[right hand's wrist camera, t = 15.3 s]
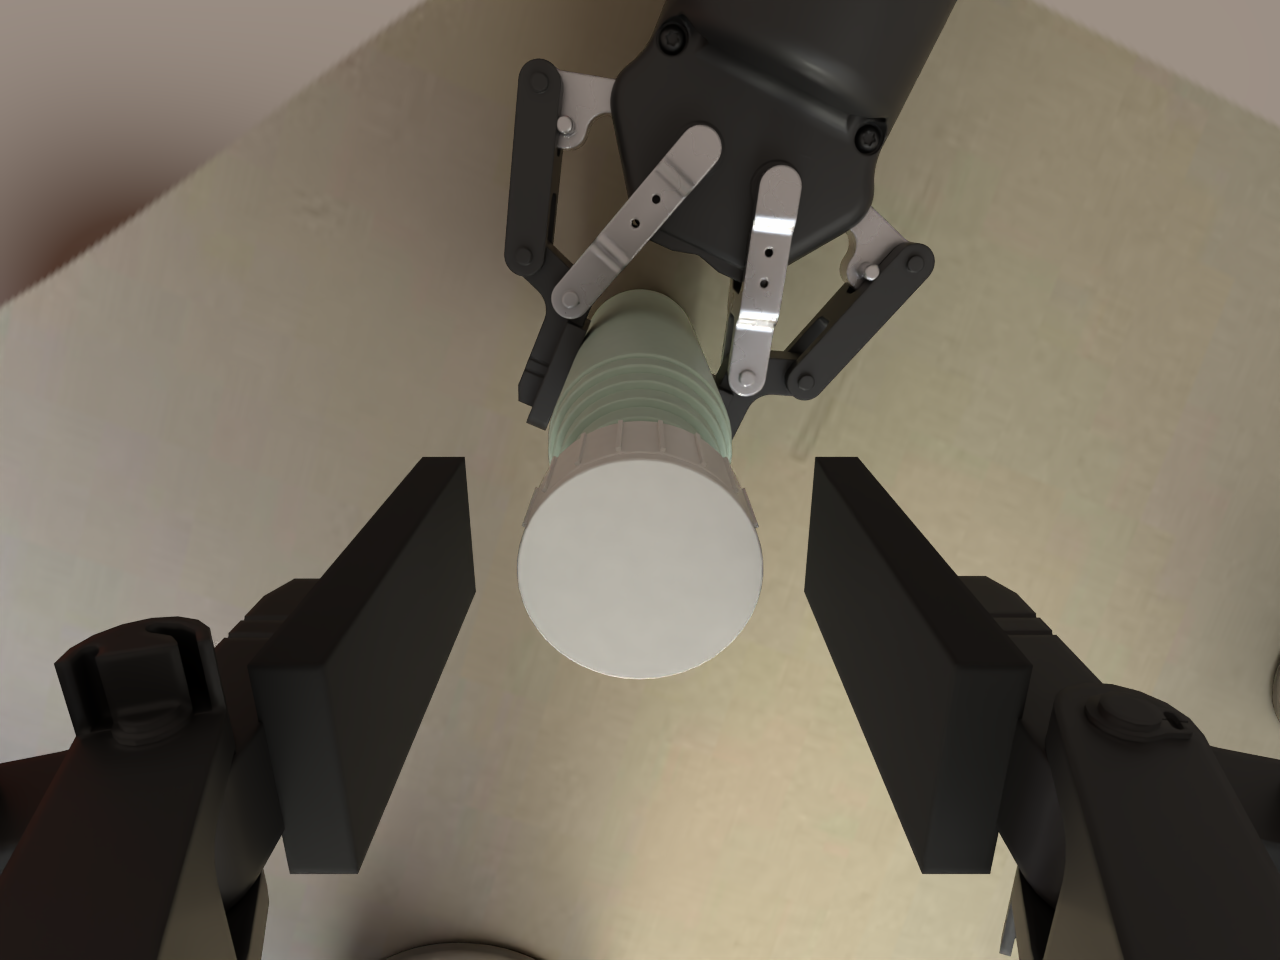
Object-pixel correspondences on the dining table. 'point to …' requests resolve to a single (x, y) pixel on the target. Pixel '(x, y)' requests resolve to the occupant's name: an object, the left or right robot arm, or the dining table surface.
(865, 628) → the right robot arm
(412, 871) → the dining table surface
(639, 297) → the bottle
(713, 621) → the cap
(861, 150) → the left robot arm
